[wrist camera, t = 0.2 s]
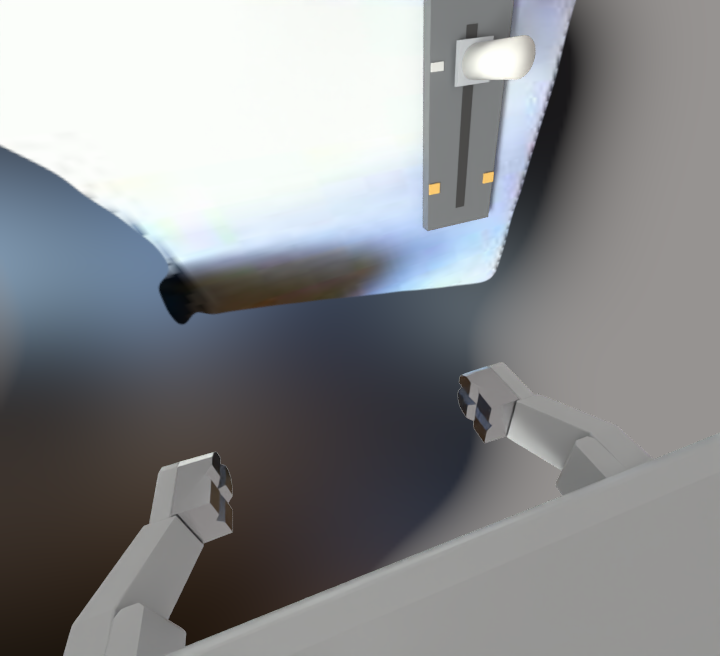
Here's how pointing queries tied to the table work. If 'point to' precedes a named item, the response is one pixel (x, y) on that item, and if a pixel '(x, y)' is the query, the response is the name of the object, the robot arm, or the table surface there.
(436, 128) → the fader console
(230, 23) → the table surface
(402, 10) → the table surface
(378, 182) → the table surface
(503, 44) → the fader knob
